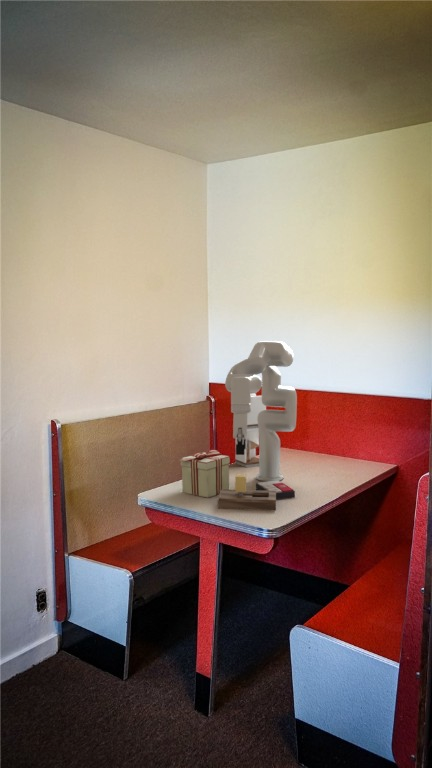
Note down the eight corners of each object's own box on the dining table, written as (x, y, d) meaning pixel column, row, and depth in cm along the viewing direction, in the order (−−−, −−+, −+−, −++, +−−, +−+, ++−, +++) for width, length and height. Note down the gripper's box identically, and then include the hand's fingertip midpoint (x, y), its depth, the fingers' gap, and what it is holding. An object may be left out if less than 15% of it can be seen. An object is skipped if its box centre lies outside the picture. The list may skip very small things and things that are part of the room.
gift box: (196, 484, 272) (196, 445, 271) (231, 490, 262) (231, 450, 260) (172, 492, 258) (172, 452, 257) (208, 500, 248) (208, 457, 246)
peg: (234, 502, 244) (234, 473, 243) (247, 502, 244) (247, 474, 243) (233, 506, 240) (233, 477, 238) (246, 506, 239) (246, 477, 238)
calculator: (271, 492, 247) (255, 481, 261) (270, 502, 248) (255, 491, 262) (295, 489, 251) (278, 478, 265) (295, 499, 252) (278, 488, 266)
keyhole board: (221, 499, 249) (221, 489, 249) (275, 500, 247) (275, 490, 246) (218, 508, 236) (218, 498, 236) (275, 510, 234) (275, 500, 234)
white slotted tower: (246, 467, 304) (246, 396, 300) (235, 463, 313) (235, 394, 310) (265, 464, 309) (266, 395, 305) (254, 460, 318) (255, 393, 315)
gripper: (232, 405, 247) (232, 447, 249) (229, 411, 230) (229, 456, 232) (251, 405, 246) (251, 447, 248) (249, 411, 229) (249, 457, 231)
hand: (240, 451), depth 240 cm, fingers open, 9 cm apart
